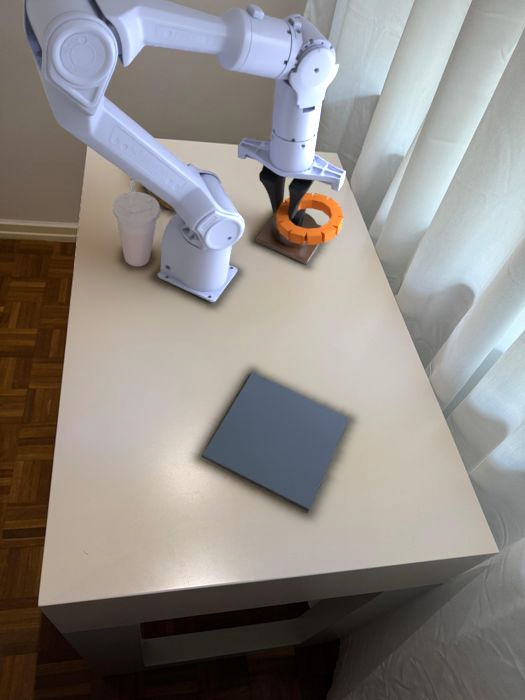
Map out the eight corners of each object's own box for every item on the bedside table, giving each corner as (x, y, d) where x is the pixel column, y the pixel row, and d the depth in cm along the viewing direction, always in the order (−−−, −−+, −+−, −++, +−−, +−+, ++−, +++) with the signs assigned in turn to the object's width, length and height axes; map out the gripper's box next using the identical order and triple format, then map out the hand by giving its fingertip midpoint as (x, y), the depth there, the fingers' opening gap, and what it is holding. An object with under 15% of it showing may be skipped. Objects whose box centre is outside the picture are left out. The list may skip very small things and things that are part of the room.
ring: (266, 234, 81) (266, 225, 79) (291, 195, 85) (291, 186, 84) (328, 252, 78) (328, 243, 77) (350, 211, 83) (351, 202, 82)
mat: (202, 456, 68) (202, 455, 68) (252, 373, 77) (252, 371, 76) (308, 511, 66) (309, 509, 66) (348, 419, 75) (349, 417, 74)
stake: (255, 242, 92) (263, 205, 86) (278, 212, 98) (286, 175, 92) (306, 264, 91) (317, 228, 85) (326, 233, 96) (338, 197, 91)
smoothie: (116, 241, 87) (112, 162, 76) (159, 244, 88) (161, 166, 77) (113, 271, 83) (109, 193, 72) (158, 274, 85) (160, 197, 74)
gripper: (360, 128, 72) (342, 211, 83) (255, 95, 75) (251, 179, 86) (341, 159, 68) (324, 242, 79) (231, 123, 71) (230, 208, 82)
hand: (285, 211), depth 82 cm, fingers closed on ring, 2 cm apart
